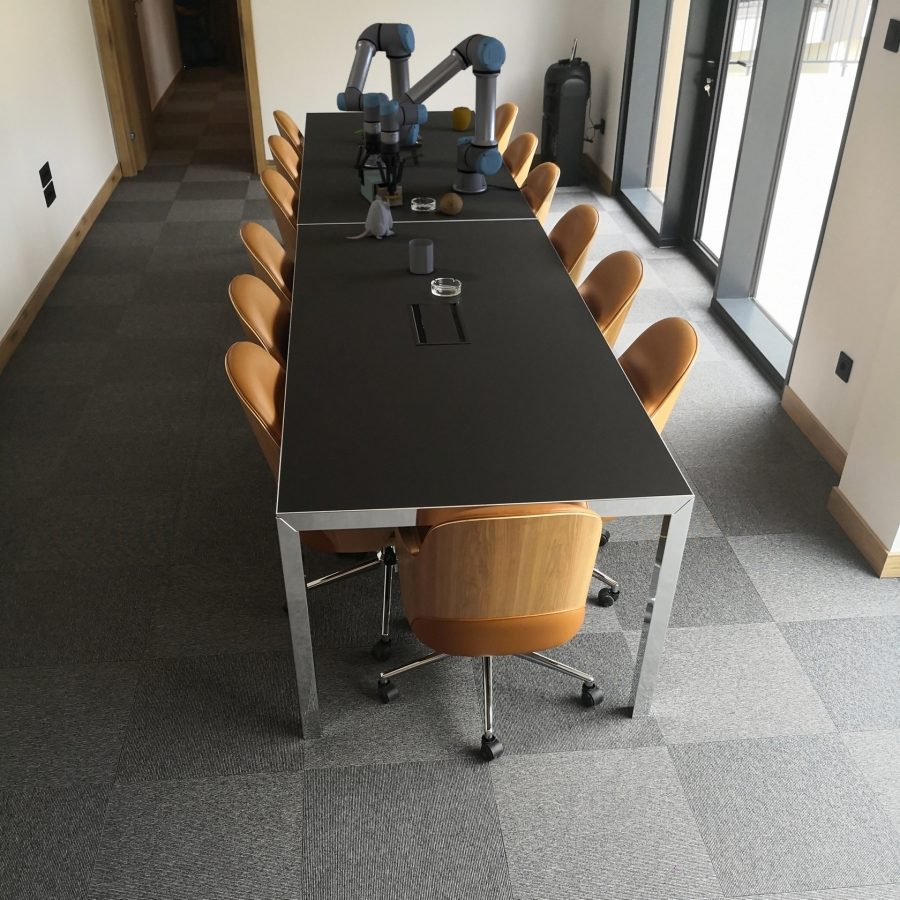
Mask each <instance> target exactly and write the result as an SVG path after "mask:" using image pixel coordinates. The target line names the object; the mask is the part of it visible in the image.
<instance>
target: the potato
mask: <svg viewBox="0 0 900 900" xmlns="http://www.w3.org/2000/svg"><path fill="white" fill-rule="evenodd" d="M463 204H464V203H463V200H462V198H461V197H460V195H458V194H457V193H456V192H455V193H454V192H448V193H445V194H444V195H443V196H442V197H441V199H440V201H439V209H440V210H441V211H442V212H443V213H444V214H446V215H448V216H456V215H457V214H458V213H459V212H461V211H462V207H463Z"/></svg>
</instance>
